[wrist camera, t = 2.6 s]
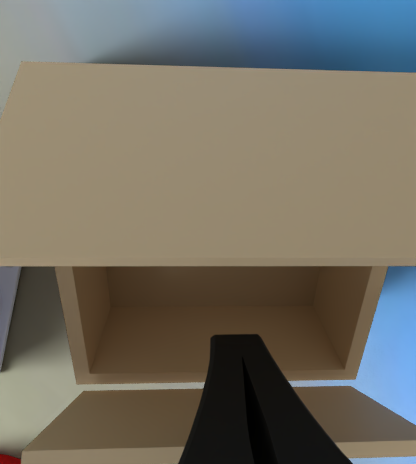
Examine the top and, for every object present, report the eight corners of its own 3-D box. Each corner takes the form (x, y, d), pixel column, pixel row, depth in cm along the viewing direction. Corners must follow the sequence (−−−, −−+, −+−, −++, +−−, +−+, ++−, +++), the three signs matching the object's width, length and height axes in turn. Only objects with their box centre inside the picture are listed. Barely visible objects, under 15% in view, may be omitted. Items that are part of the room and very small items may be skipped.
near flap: (27, 74, 9) (21, 61, 9) (435, 85, 10) (444, 73, 10) (-37, 266, 7) (-50, 257, 6) (523, 265, 7) (540, 257, 7)
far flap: (350, 386, 15) (350, 395, 15) (83, 391, 15) (83, 401, 15) (439, 439, 10) (441, 455, 10) (21, 450, 9) (20, 467, 9)
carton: (318, 307, 20) (355, 379, 16) (102, 309, 19) (76, 384, 15) (365, 75, 15) (441, 83, 10) (71, 67, 14) (17, 72, 10)
